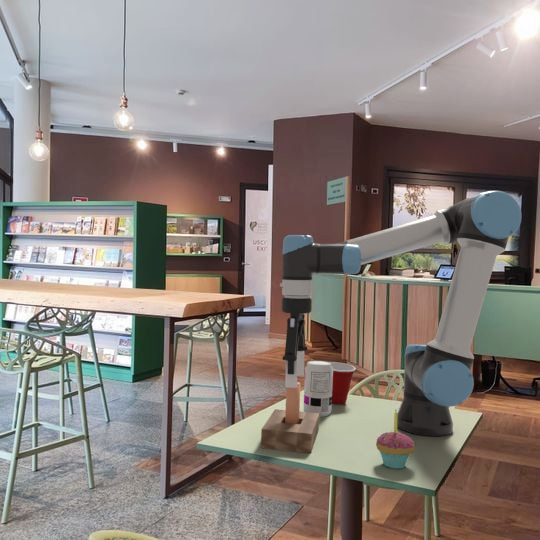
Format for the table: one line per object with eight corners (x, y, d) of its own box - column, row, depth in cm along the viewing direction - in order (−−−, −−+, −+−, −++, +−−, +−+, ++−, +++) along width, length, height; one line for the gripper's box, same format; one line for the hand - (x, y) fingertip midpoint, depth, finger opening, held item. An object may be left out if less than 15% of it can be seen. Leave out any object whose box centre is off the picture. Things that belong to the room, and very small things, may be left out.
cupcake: (373, 456, 126) (375, 405, 125) (411, 459, 125) (413, 407, 124) (377, 470, 117) (379, 415, 117) (417, 473, 116) (419, 418, 116)
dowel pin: (299, 436, 138) (301, 382, 138) (297, 441, 134) (299, 385, 134) (285, 435, 138) (287, 381, 138) (283, 439, 135) (285, 384, 135)
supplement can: (297, 413, 160) (299, 362, 159) (314, 408, 166) (316, 359, 166) (320, 419, 154) (322, 366, 154) (336, 413, 161) (338, 363, 160)
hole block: (318, 430, 144) (319, 413, 144) (311, 453, 126) (311, 433, 126) (274, 425, 146) (274, 409, 146) (260, 447, 129) (261, 428, 128)
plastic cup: (341, 408, 166) (342, 369, 166) (313, 401, 174) (315, 364, 174) (361, 403, 174) (362, 365, 174) (334, 396, 182) (335, 360, 181)
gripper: (289, 293, 149) (288, 370, 149) (273, 299, 124) (271, 391, 125) (316, 294, 147) (315, 372, 148) (305, 300, 123) (303, 393, 123)
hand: (295, 381), depth 136 cm, fingers open, 13 cm apart
